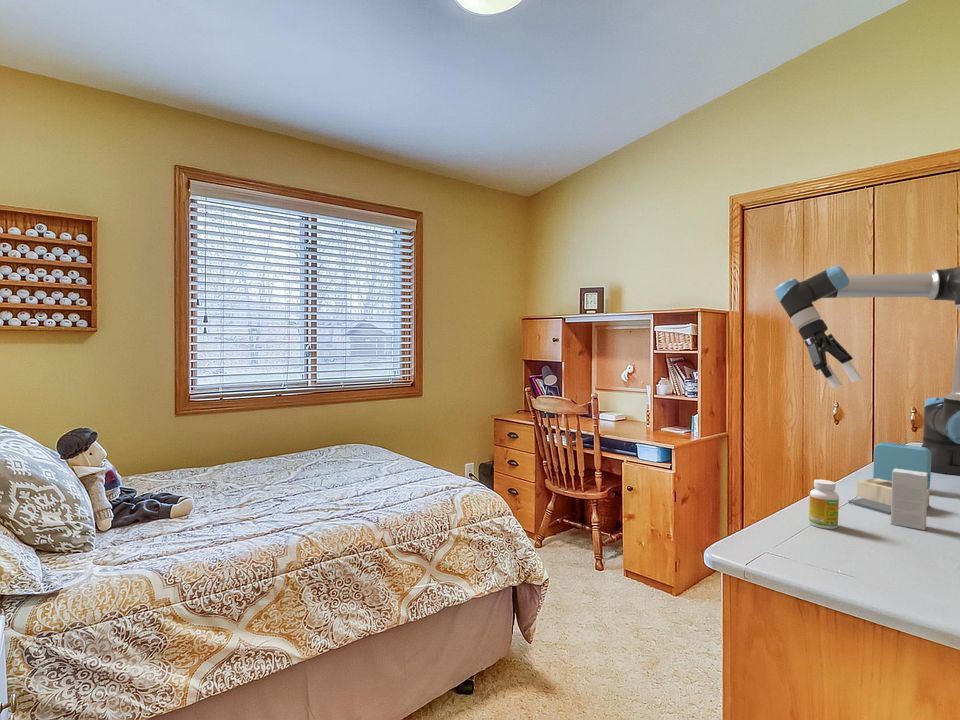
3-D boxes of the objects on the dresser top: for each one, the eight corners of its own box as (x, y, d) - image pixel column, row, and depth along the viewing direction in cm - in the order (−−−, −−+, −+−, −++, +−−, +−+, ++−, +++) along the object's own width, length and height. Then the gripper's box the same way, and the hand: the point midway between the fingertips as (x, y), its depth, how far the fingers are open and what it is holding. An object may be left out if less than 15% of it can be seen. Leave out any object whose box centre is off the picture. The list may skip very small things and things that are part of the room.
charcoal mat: (887, 496, 142) (887, 494, 142) (929, 506, 133) (929, 504, 133) (848, 503, 135) (848, 500, 135) (889, 514, 127) (889, 512, 127)
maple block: (876, 477, 142) (929, 489, 131) (876, 493, 142) (928, 506, 131) (857, 480, 139) (909, 493, 128) (856, 496, 139) (909, 510, 128)
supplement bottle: (828, 531, 115) (830, 486, 115) (803, 523, 120) (805, 480, 120) (842, 527, 118) (844, 483, 117) (817, 519, 123) (819, 477, 122)
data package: (929, 491, 147) (931, 448, 146) (926, 494, 144) (928, 450, 143) (876, 482, 156) (878, 441, 155) (872, 485, 153) (874, 443, 152)
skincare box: (926, 526, 119) (928, 472, 119) (924, 531, 116) (927, 476, 115) (891, 519, 123) (894, 467, 123) (889, 524, 120) (891, 470, 120)
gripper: (817, 327, 182) (853, 383, 174) (778, 333, 168) (816, 394, 161) (838, 315, 176) (876, 373, 169) (800, 320, 162) (840, 383, 155)
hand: (847, 383), depth 165 cm, fingers open, 13 cm apart
